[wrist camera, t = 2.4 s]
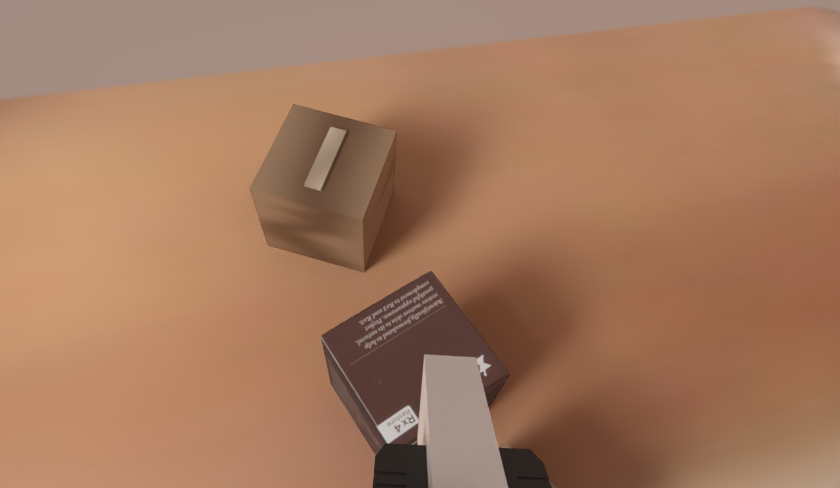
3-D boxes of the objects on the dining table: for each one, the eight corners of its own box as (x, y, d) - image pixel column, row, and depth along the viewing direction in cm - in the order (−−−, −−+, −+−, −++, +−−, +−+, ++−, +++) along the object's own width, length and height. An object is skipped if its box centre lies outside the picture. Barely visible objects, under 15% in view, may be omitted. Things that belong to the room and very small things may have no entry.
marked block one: (267, 246, 36) (249, 186, 30) (304, 168, 38) (293, 101, 33) (364, 273, 35) (362, 218, 30) (393, 192, 38) (396, 128, 33)
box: (422, 325, 34) (433, 266, 27) (486, 415, 31) (515, 374, 25) (328, 383, 32) (316, 334, 25) (389, 484, 30) (393, 458, 23)
